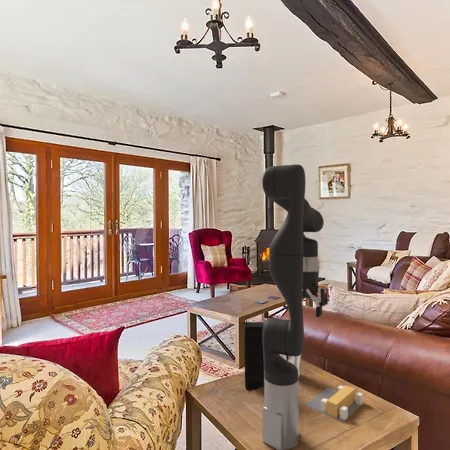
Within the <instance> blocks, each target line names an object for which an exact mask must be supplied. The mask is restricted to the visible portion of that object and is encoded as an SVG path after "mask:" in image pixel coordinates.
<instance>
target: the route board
mask: <svg viewBox="0 0 450 450" xmlns="http://www.w3.org/2000/svg"><path fill="white" fill-rule="evenodd" d="M344 386H345V385H339V386H337V390H336V389H333V388H329V387H327V388H325V389H324V390H323V391H322V392H320V393H318V394H317V395H316V396H314V397H313V398H312V399H311V400H309V401H308V402H307V403H305V404H304V406H306V407H308V408H310V409H313V410H315V411H317V412H319V413H322V414H324V415H326V416H328V417H330V418H333V419H335V420H337V421H340V422H342V423H344V422H345V421H346V420H348V419H349V418H350V417H351V416H352V415H353V414H354V413H355V412H356V411H357V410H358V409H359V408H360V407H361V406H362V405H363V404H364V403H365V401H364V393H363V392H360V391H357V392H356V393H355V401H354V402H353V403H352V404H351V405H350V406H349V407H348V408H347V407H345V406H342V407H341V408H340V415H339V416H338V417H337V418H336V417H333V416H331V415H329V414H327V400H328V399H329V398H331V397H332V396H333V395H334V394H336V393H337V392H338V391H339V390H341V389H342V388H343V387H344Z"/></svg>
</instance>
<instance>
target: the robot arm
mask: <svg viewBox="0 0 450 450" xmlns="http://www.w3.org/2000/svg"><path fill="white" fill-rule="evenodd" d="M305 171H306V170H305V168H304V167H303V165H301V164H287V165H274V166H269V167H267V168H266V169H265V170H264V171H263V174H262V179H261V185H262V186H261V187H262V189H263V192H264V194H265V196H266V197H267V198H268V199H269V200H271V201H272V202H274V203H276V205H277V206H279V207H281V208H282V209H284V210H285V211H286V212H287V214H286V217H285V219H284V220H283V223H282V224H281V226H280V228H279V229H278V230H277V232H276V233H275V235H274V237H273V238H272V241H271V242H270V245H269V249H268V271H269V274H270V276H271V279H272V281H273V282H274V284H275V286H276V287H277V289H278V291H279V292H280V294H281V295H282V297H283V299H284V302H285V303H286V306H287V309H288V313H289V318H290V319H286V318H285V319H283V318H275V317H274V318H273V317H270V318H269V317H268V318H267V319H266V320H264V326H263V333H262V340H263V356H264V387H263V389H264V390H263V391H264V393H263V394H264V395H263V396H264V398H263V400H264V406H263V407H262V442H263V443H264V444H266V445H268V446H269V447H271V448H273V449H276V450H291V449H294V448H295V447H297V445H298V444H299V377H298V369H297V367H296V366H295V365H294V364H292V363H291V362H289V361H287V360H285V359H284V358H283V355H287V356H300V355H301V356H302V353H303V351H304V346H305V326H304V310H303V305H304V304H303V298H307V299H310V300H312V302H314V304H315V305H316V306H315V317H316V318H321V316H322V315H323V307H324V306H327V305H328V304H329V301H328V299H329V298H328V288H327V287H325V286H324V287H320V286H319V281H320V279H319V273H320V272H319V271H320V270H319V269H320V266H319V242H318V241H317V240H316V239H315V238H310V237H307V236H306V235H305V233H318V232H320V231H321V230H322V229H323V227H324V222H325V221H324V217H323V215H322V213H321V212H320V211H319V210H317V209H316V208H314V207H312V206H311V204H310V203H309V201H308V200H307V199H306V197H305V196H306V184H307V183H306V172H305Z"/></svg>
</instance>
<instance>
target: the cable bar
mask: <svg viewBox="0 0 450 450" xmlns="http://www.w3.org/2000/svg"><path fill="white" fill-rule="evenodd" d="M343 386H344V387H343V388H342V389H341V390H339V391H338V390H337V391H338V392H337V393H336V394H334V395H333V396H332V397H331V398H329V399H328V400H327V414H329V415H331V416H333V417H336V418H337V417H338V416H339V415H340V408H341V407H342V406H345V407H347V408H348V407H349V406H350V405H351V404H352V403H353V402H354V401H355V398H356V388H355V387H352V386H349V385H346V384H345V385H343ZM331 416H330V417H331ZM333 417H332V418H333Z"/></svg>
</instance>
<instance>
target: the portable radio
mask: <svg viewBox="0 0 450 450" xmlns="http://www.w3.org/2000/svg"><path fill="white" fill-rule="evenodd" d="M247 318H248V317H246V316H245V322H244V325H243V327H244V329H243V331H244V332H243V333H244V336H243V337H244V338H243V339H244V341H243V342H244V387H245V389H246V390H257V389H259V388H264V356H263V340H262V333H263V326H264V323H265V321H264V322H263V321H258V322H257V321H247V320H248V319H247Z"/></svg>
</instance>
